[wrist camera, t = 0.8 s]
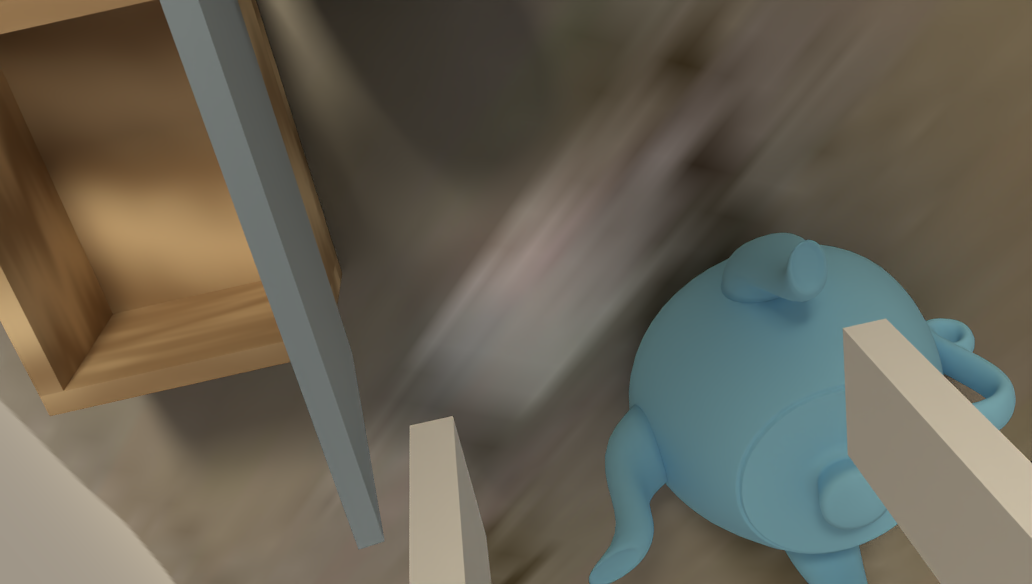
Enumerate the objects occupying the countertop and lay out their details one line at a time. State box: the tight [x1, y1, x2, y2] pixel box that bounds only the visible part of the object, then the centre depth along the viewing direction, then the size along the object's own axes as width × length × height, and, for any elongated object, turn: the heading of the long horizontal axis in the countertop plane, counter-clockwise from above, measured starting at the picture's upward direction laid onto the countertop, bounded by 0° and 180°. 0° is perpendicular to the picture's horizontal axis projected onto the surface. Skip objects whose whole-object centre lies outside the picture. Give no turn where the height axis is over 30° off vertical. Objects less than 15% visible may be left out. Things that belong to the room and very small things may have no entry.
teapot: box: [589, 233, 1016, 584], centre depth 45 cm, size 17×19×12 cm
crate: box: [0, 0, 342, 416], centre depth 38 cm, size 16×12×8 cm
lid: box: [160, 0, 384, 549], centre depth 29 cm, size 17×12×1 cm
